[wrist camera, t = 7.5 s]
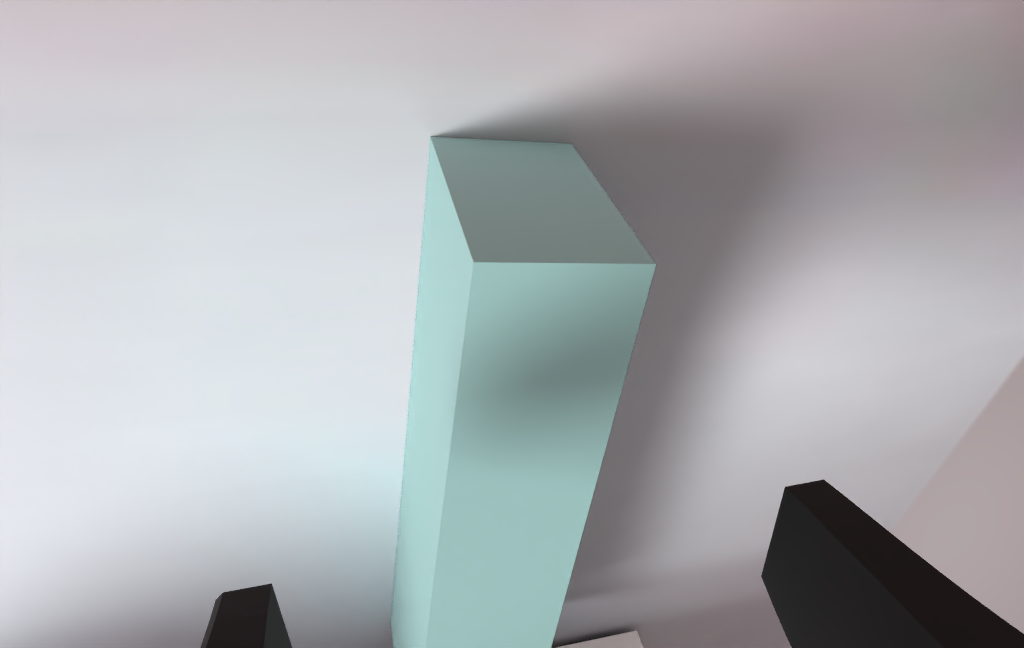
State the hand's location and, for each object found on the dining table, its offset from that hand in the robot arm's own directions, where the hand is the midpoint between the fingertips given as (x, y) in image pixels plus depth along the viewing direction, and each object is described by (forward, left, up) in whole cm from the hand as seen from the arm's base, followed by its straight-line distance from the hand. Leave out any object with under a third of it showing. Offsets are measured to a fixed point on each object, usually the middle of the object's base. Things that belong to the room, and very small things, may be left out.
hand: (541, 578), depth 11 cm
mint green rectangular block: (-3, -4, -8) cm, 10 cm away
